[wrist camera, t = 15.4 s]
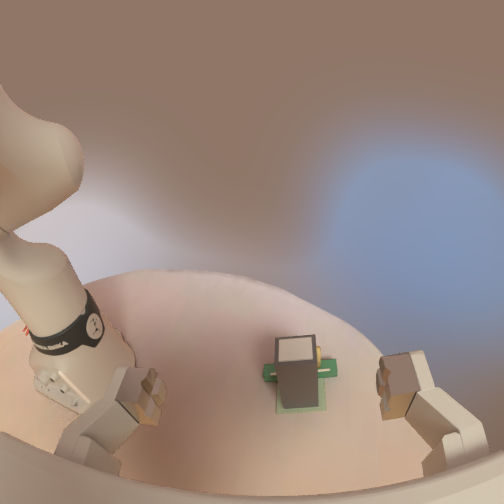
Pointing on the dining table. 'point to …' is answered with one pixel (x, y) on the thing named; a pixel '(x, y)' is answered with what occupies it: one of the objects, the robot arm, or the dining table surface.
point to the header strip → (324, 368)
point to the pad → (309, 409)
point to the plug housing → (297, 371)
